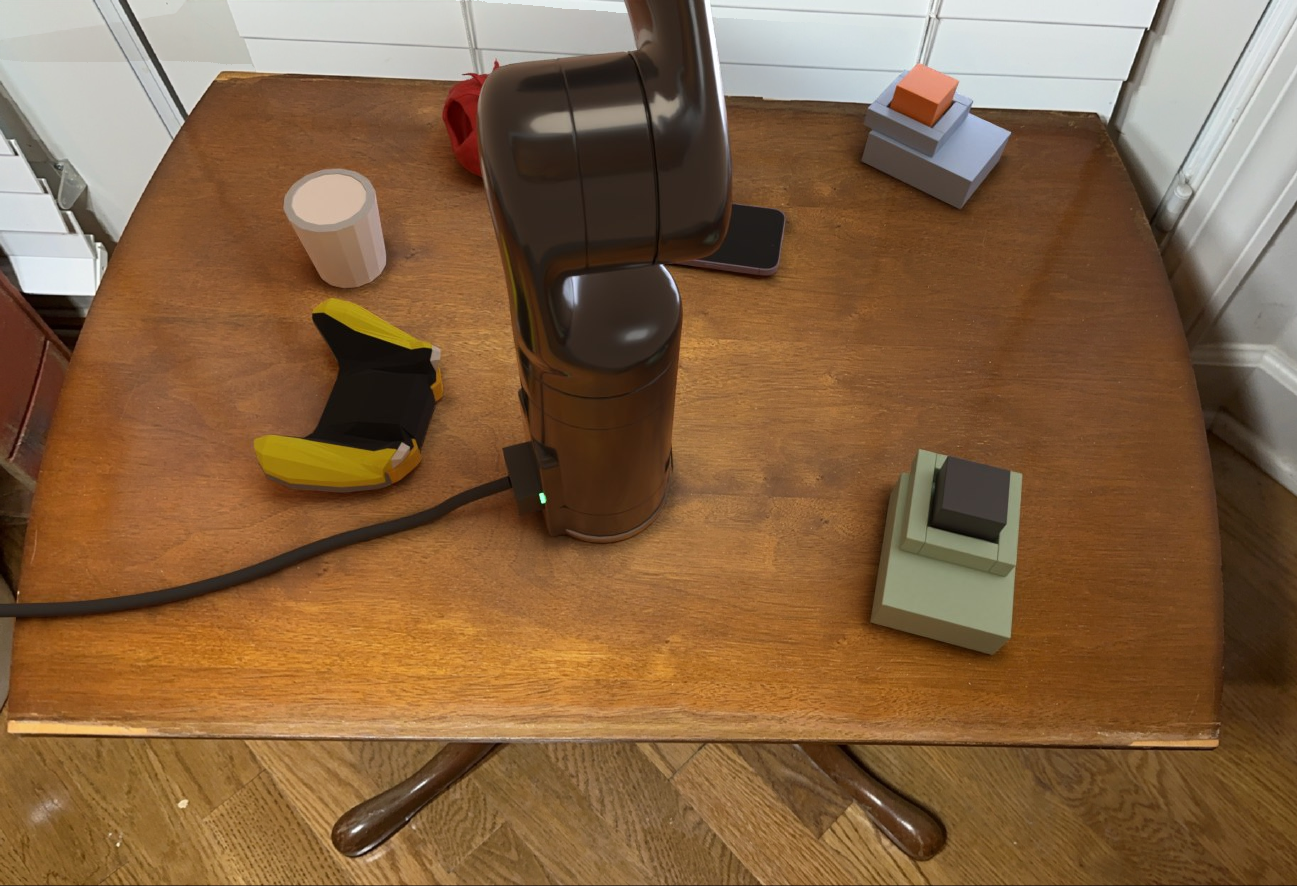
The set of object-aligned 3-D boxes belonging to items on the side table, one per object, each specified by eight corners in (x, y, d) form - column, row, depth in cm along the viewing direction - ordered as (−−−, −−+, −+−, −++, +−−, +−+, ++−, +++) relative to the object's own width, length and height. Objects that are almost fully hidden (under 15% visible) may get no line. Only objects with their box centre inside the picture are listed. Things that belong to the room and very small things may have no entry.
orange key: (950, 105, 81) (959, 80, 79) (929, 129, 79) (938, 104, 77) (910, 87, 82) (918, 62, 80) (888, 110, 80) (896, 85, 78)
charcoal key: (992, 542, 58) (1007, 524, 56) (929, 526, 59) (941, 508, 57) (997, 489, 60) (1011, 470, 58) (936, 474, 61) (948, 455, 59)
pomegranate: (492, 107, 86) (479, 15, 78) (582, 144, 84) (578, 54, 76) (428, 169, 81) (407, 78, 74) (521, 210, 79) (510, 121, 71)
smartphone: (615, 187, 80) (787, 209, 78) (615, 197, 81) (785, 219, 79) (597, 247, 76) (777, 272, 74) (598, 257, 77) (776, 281, 75)
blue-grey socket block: (999, 160, 84) (1019, 115, 80) (960, 209, 81) (979, 165, 76) (893, 111, 87) (907, 65, 83) (851, 157, 84) (864, 111, 80)
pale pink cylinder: (386, 224, 78) (367, 159, 72) (401, 283, 74) (382, 220, 68) (304, 242, 76) (277, 177, 71) (315, 302, 73) (288, 239, 67)
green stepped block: (992, 655, 59) (1021, 627, 55) (869, 622, 60) (889, 593, 56) (1004, 510, 65) (1031, 475, 61) (891, 483, 66) (910, 446, 61)
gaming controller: (265, 500, 64) (405, 521, 63) (236, 459, 59) (387, 482, 58) (336, 333, 72) (461, 350, 71) (316, 285, 67) (450, 303, 66)
